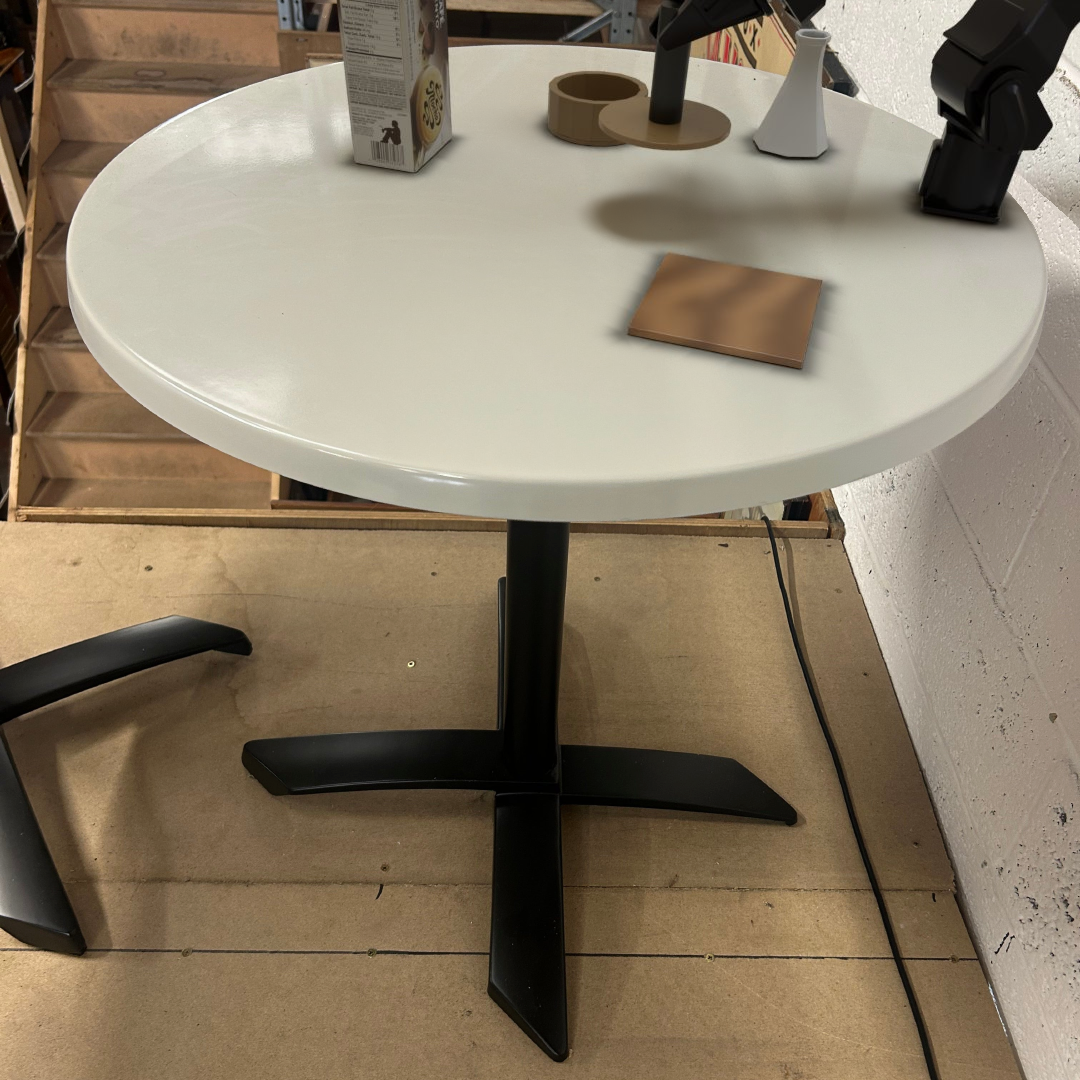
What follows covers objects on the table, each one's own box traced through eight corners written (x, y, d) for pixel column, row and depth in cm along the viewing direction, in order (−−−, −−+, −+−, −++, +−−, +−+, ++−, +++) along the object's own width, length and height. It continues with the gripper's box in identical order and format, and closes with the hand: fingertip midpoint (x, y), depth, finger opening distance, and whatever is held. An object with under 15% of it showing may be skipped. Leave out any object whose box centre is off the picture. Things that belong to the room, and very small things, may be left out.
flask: (828, 137, 92) (855, 27, 85) (825, 164, 87) (853, 49, 80) (756, 128, 93) (776, 18, 86) (748, 154, 88) (769, 40, 81)
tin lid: (696, 106, 77) (713, -17, 71) (751, 152, 70) (775, 20, 64) (580, 115, 75) (587, -11, 69) (624, 164, 68) (637, 28, 62)
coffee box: (393, 129, 90) (377, -64, 79) (454, 139, 88) (447, -57, 77) (351, 163, 83) (327, -42, 72) (416, 174, 82) (402, -34, 71)
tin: (653, 119, 94) (657, 78, 91) (629, 152, 87) (633, 109, 85) (564, 105, 96) (566, 65, 93) (534, 137, 89) (535, 95, 87)
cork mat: (820, 287, 69) (822, 279, 69) (801, 369, 61) (803, 361, 60) (666, 259, 72) (666, 251, 71) (627, 334, 63) (628, 326, 63)
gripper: (725, -266, 64) (562, -78, 70) (826, -246, 50) (613, -15, 56) (807, -126, 70) (651, 35, 76) (915, -76, 57) (716, 114, 63)
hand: (656, 40), depth 68 cm, fingers closed on tin lid, 2 cm apart
